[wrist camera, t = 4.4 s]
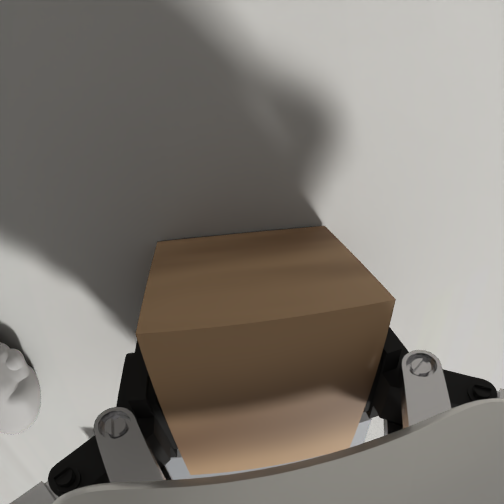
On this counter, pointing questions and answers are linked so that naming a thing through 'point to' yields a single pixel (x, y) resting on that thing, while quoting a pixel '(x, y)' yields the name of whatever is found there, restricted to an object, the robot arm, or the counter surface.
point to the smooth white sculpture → (17, 392)
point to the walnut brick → (261, 345)
